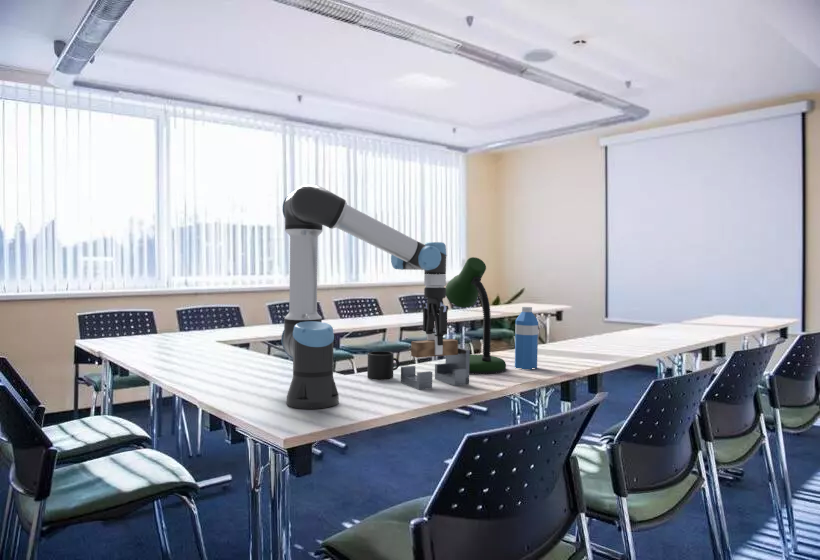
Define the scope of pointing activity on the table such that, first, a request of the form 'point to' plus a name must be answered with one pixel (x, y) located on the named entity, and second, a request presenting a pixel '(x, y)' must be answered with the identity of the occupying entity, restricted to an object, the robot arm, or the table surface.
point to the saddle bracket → (416, 378)
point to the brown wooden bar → (433, 348)
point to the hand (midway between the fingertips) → (434, 353)
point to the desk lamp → (465, 295)
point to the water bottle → (526, 339)
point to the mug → (381, 365)
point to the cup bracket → (454, 369)
